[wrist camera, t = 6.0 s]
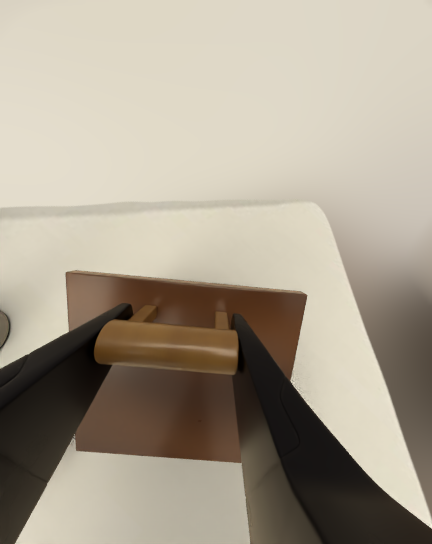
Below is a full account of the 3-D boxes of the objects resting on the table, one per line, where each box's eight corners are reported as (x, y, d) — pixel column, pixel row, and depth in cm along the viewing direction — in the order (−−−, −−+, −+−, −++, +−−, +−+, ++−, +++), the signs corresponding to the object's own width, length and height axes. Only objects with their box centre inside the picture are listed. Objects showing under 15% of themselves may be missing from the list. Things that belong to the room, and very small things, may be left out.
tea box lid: (75, 269, 10) (-45, 292, 5) (301, 291, 10) (372, 329, 5) (83, 439, 12) (3, 558, 7) (270, 453, 12) (303, 577, 7)
